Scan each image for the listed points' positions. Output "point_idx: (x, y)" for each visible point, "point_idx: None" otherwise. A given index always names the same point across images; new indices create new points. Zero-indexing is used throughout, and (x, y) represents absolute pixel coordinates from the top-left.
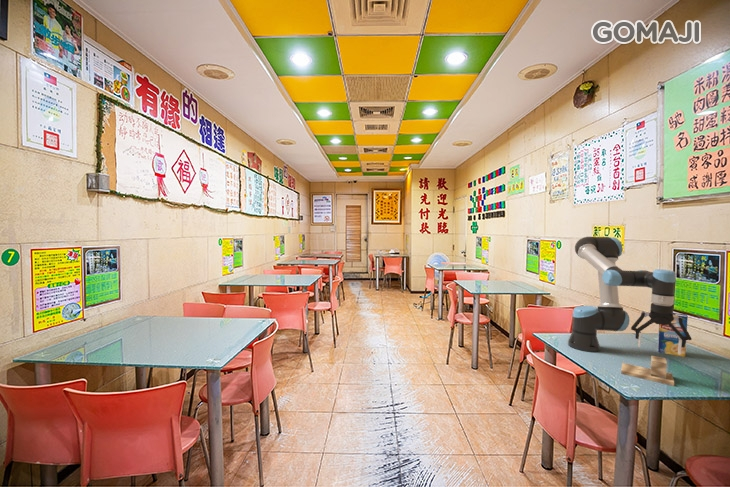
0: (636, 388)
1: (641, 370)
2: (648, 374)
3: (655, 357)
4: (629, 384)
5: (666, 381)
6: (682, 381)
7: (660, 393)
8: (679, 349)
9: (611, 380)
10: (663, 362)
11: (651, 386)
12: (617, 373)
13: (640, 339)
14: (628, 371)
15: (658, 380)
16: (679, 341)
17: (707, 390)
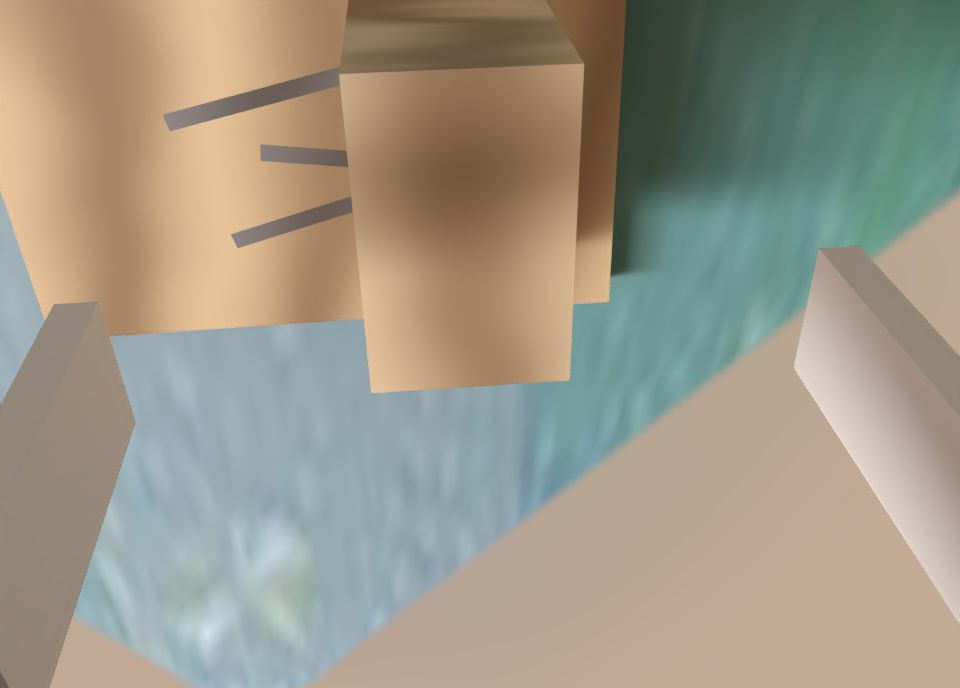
0: (294, 591)
1: (246, 132)
2: (345, 236)
3: (413, 160)
4: (226, 551)
5: None
6: (723, 8)
7: (472, 555)
8: (855, 441)
9: None
10: (528, 358)
11: (398, 457)
12: None
13: (83, 563)
14: (128, 311)
15: None
16: (947, 601)
17: (926, 137)
